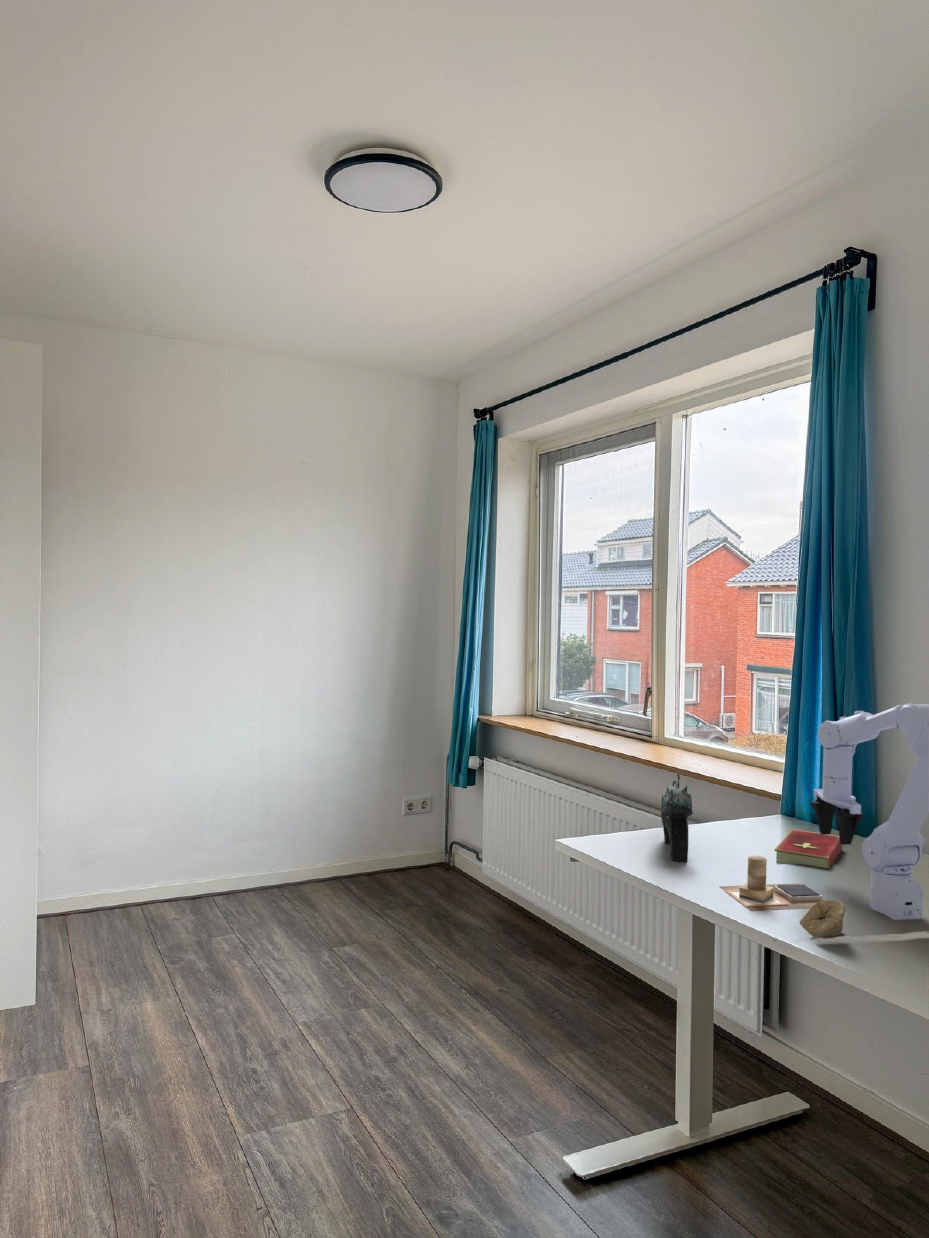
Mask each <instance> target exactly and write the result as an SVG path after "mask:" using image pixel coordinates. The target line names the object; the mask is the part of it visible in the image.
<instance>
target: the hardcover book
mask: <svg viewBox="0 0 929 1238" xmlns="http://www.w3.org/2000/svg"><path fill="white" fill-rule="evenodd" d="M841 850H843V845H842V844H841V843H840V838H839V835H835V834H820V832H814V831H807V830H801V829H793V828H791V829H790V831H789V832H788V833H787V834H786V836H784V838H783V839H782V840H781V841H780V842H779V844H778V845H777V846H776V847H775V848H774V852H776V863H779V864H778V865H790V864H791V865H793V864H794V865H796V864H800V865H806V866H811V867H816V868H817V867H818V868H822V869H823V868H824V869H827V870H829V869H830V868H831V867H832V865H833V864H835V863H834V862H836V861H837V859H838V858H839V856H840V854H841V852H842V851H841ZM838 855H839V856H838Z"/></svg>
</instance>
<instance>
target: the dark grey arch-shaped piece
mask: <svg viewBox="0 0 929 1238" xmlns="http://www.w3.org/2000/svg"><path fill="white" fill-rule="evenodd" d="M676 776H677V780H674V781H673V782H672V785H671V786H670V785H669V786H667V787H666V791H665V794H662V795H661V805H660V817H661V823H662V826H663V827H662V828H663V837H664V839H663V840H664V843H665V844H666V845H670V846H669V847H670V853H669V854H670V859H671V861H672V862H675V863H688V856H689V855H688V854H689V816H692V815H694V814H693V800H692V792H691V791H690V790H689V789H688V785H684V786H683V787H680V777H681V772H680V771H678V772H677V774H676Z"/></svg>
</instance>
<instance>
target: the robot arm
mask: <svg viewBox="0 0 929 1238" xmlns="http://www.w3.org/2000/svg"><path fill="white" fill-rule="evenodd" d="M894 728H895V729H897V730H899V732H900V733H901V735H902V736H903V738H904V739H905V742H906V743H907V744H908V747H909V748H910V750H911V752H912V753H913V754H915V755H917V757H918V758H917V761H916V763H915V764H914V767H913V769H912V770H911V773H910V775H909V777H908V778H907V781H906V783H905V784H904V787H903V789H902V791H901V793H900V795H899V797H898V799H897V802H896V804H895V806H894V808H893V809H892V811H891V814H890V816H889V817H888V820H887V821H886V822H884V823H881V824H880V825H879V826H877V827H876V828H874V829H873V831H872V833H870V835H869V836H868V837H866V838H865V839H864V840H863V841H862V842H863V843H862V846H861V852H862V853H861V854H862V857H863V860H864V861H865V863H866V864H867V867H868V868H870V893H869V896H870V897H869V908H870V909H872V910H873V911H875V912H877V913H881V914H883V915H885V916H886V917H888V918H890V919H891V920H895V921H899V920H922V919H923V900H924V897H923V894H924V893H923V888H922V887H923V886H921V883H920V882H919V881H917V880H916V879H915V878H914V875H913V872H915V869H916V866H918V865H919V863H921V860H922V856H923V847H924V845H925V843H926V840H925V838H924V836H923V835H922V833H920V831H921V828H922V826H923V825H924V822H925V821H926V818H927V816H928V814H929V703H922V704H921V703H919V704H915V703H905V704H903V705H902V704H901V705H900V704H899V705H896V706H894V707H892V708H889V709H886V710H883V711H881V712H879V713H874V714H872V713H870V712H867V711H866V712H865V711H864V710H856V711H854V712H853V715H850V716H848V717H847V716H841V717H839V720H837V721H835V720H833V721H831V720H825V721H823V722H822V723H820V725H819V727H818V730H817V737H818V740H819V743H820V745H821V746H822V747H823V755H822V756H823V760H822V761H823V763H822V764H823V766H822V788H819V789H818V788H817V789H816V788H813V798H814V799H815V800H811V801H810V802H809V803H810V806H811V808H812V810H813V811H814V814H815V818H816V821H817V825H818V829H819V833H820V834H829V835H832V834H831V833H832V829H833V821H834V816H835V818H836V820H837V821H836V822H837V825H838V834H839V835H838V836H839V838H840V843H841V844H842V846H843V845H845V846H847V845H849V846H850V845H852V842H853V841H854V840H853V839H854V836H855V832H856V830H857V828H858V826H859V824H860V822H862V820H863V819H864V816H865V815H864V813H863V812H862V805H861V804H860V803H858V802H857V801H856V799H857V798H856V796H854V795H852V782H853V781H852V780H853V777H852V776H853V773H852V772H853V757H854V755H855V754H856V748H857V745H858V744H861V743H865V742H868V741H872V740H874V739H877V737H878V736H879V734H880V733H881V731H885V730H890V729H894ZM837 807H838V808H840V809H842V810H836V809H837Z"/></svg>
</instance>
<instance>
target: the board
mask: <svg viewBox="0 0 929 1238" xmlns="http://www.w3.org/2000/svg"><path fill="white" fill-rule="evenodd" d="M799 884H800V883H777V884H776V883H774V884H766V886H769V887H773V888H774V886H776V885H799ZM741 886H742V885H726V886H725V885H724V886H723V885H722V886H721V885H720V886H718V887H719V888H720V889H721V890H723V891H724V892H725V890H739V888H740V887H741ZM725 893H727V892H725ZM727 894H728V893H727ZM773 894H774V895H775V896H777V897H778V898H780V899H781V900H783V901H784V902H786V903H787V904H788V905H782V906H759V907H745V906H744V905H742V906H744V907H745V908H746V909H747V910H749V911H751V912H760V911H780V910H802V909H803V910H805V909H809V910H810V909H811V908H812V906H813V905H815V904H816V903H818V902H819V901H809V902H790V901H789V900H787V899H786V898H784V897H783V896H781V895H780V894H778V893H777V892H775V891H774V889H773ZM729 896H730V897H732V896H731V895H729ZM733 899H734V900H736V899H735V898H733ZM737 902H738V903H740V902H739V901H737Z"/></svg>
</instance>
